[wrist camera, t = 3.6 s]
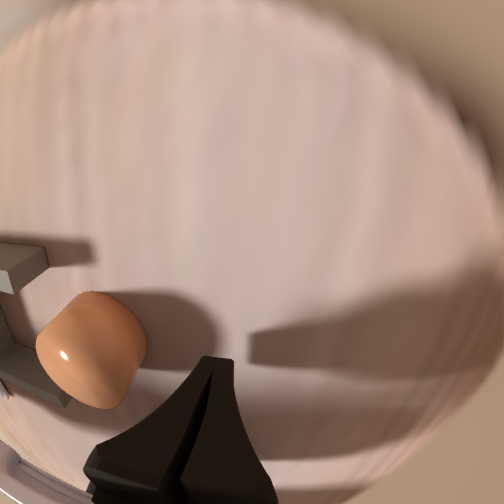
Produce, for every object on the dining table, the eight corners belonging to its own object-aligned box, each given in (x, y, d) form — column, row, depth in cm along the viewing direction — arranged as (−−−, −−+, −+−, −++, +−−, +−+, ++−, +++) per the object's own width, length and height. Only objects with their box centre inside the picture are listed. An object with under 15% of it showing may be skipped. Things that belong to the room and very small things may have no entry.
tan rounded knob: (82, 356, 16) (56, 393, 12) (60, 285, 14) (22, 320, 10) (154, 372, 15) (134, 418, 12) (139, 297, 13) (107, 342, 10)
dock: (11, 350, 17) (-10, 372, 14) (-27, 239, 13) (-56, 256, 10) (84, 378, 16) (64, 408, 14) (44, 247, 13) (7, 271, 10)
